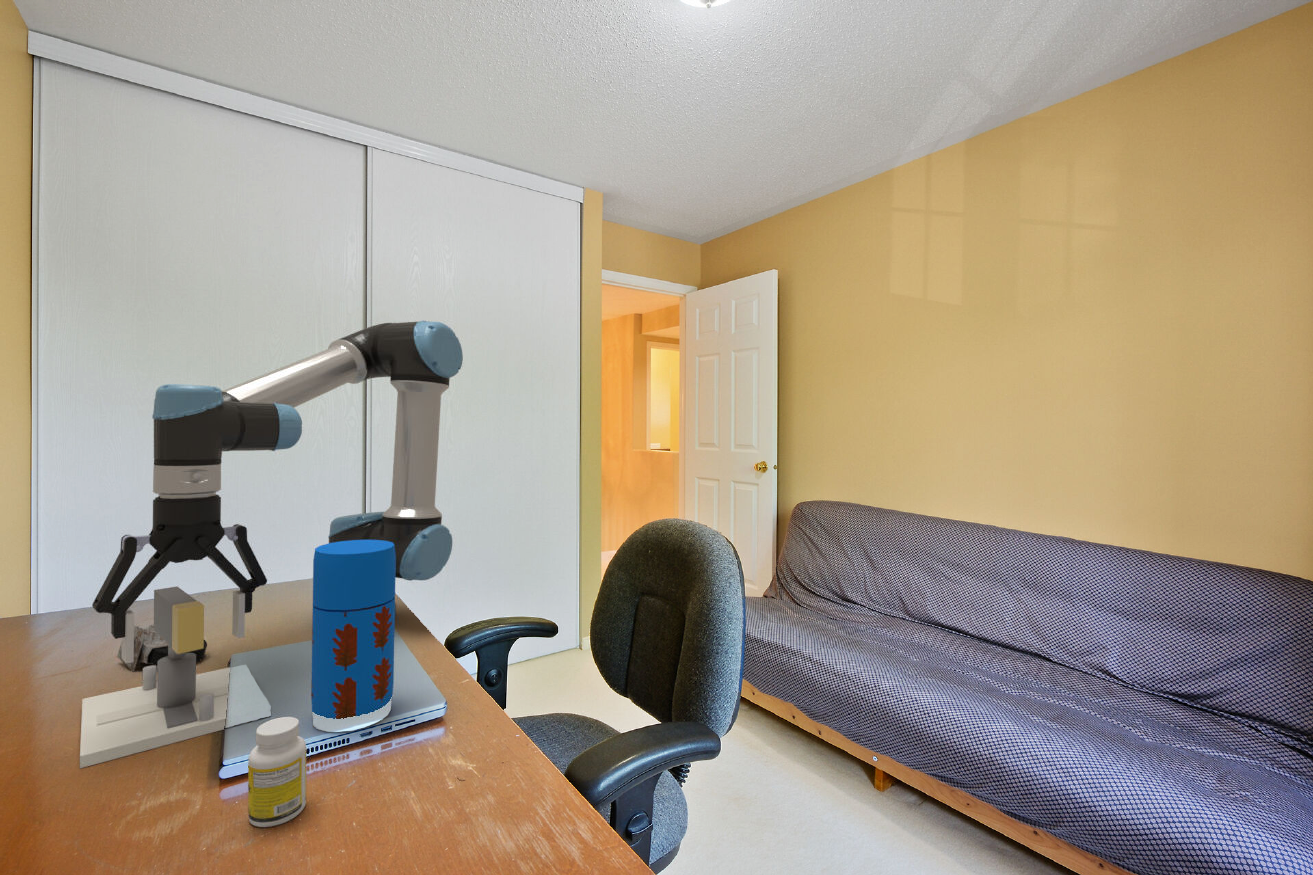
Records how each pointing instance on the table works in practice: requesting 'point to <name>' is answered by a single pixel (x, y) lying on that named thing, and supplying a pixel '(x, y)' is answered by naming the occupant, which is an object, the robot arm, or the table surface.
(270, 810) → the supplement bottle
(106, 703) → the base plate
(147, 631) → the caster wheel
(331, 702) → the thermos
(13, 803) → the table surface
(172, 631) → the grey yellow rectangular block
